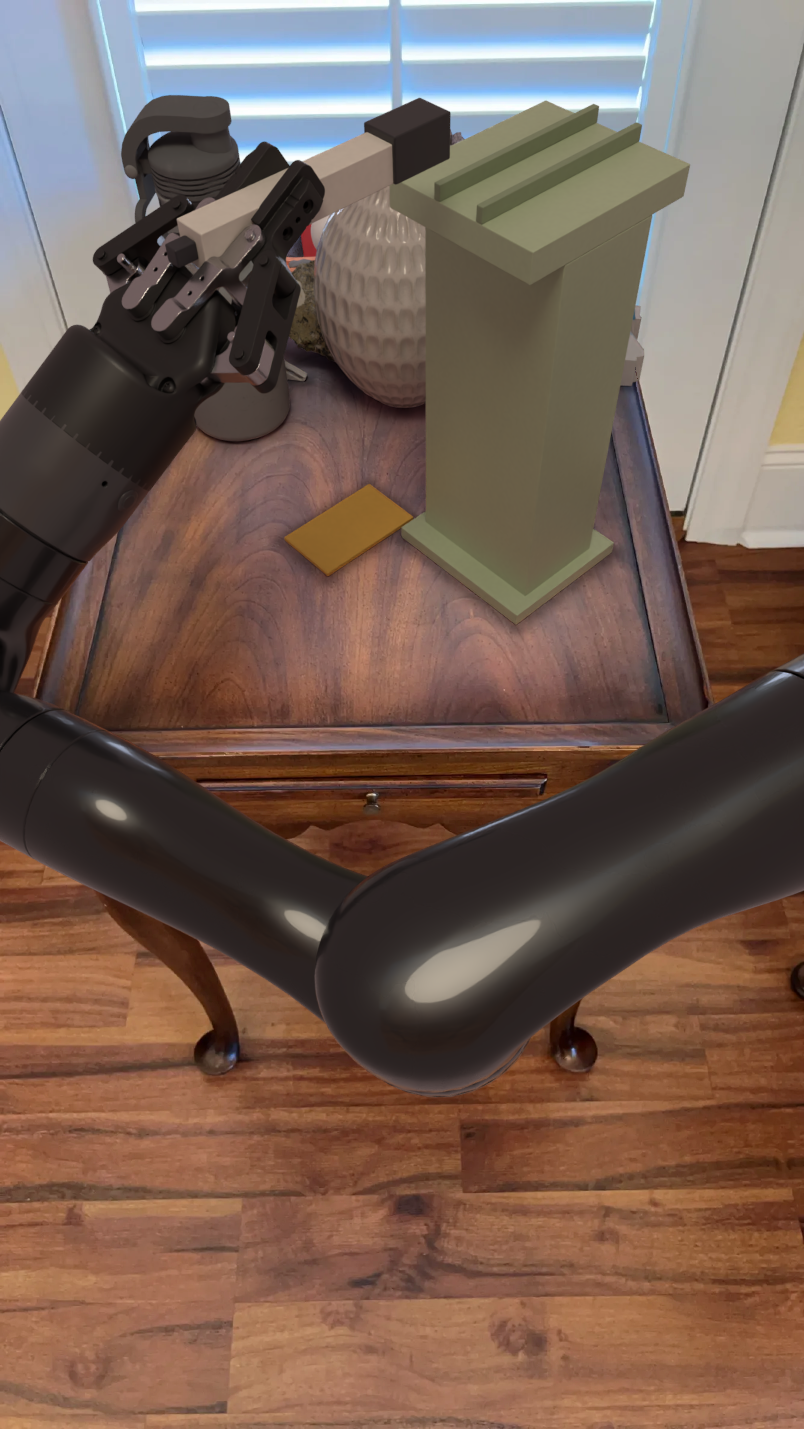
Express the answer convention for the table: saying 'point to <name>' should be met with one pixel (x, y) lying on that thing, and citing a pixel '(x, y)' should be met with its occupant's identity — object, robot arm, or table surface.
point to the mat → (348, 529)
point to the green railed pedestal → (528, 341)
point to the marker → (327, 177)
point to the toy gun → (633, 353)
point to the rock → (307, 314)
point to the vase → (374, 299)
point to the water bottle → (198, 170)
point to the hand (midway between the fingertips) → (295, 165)
